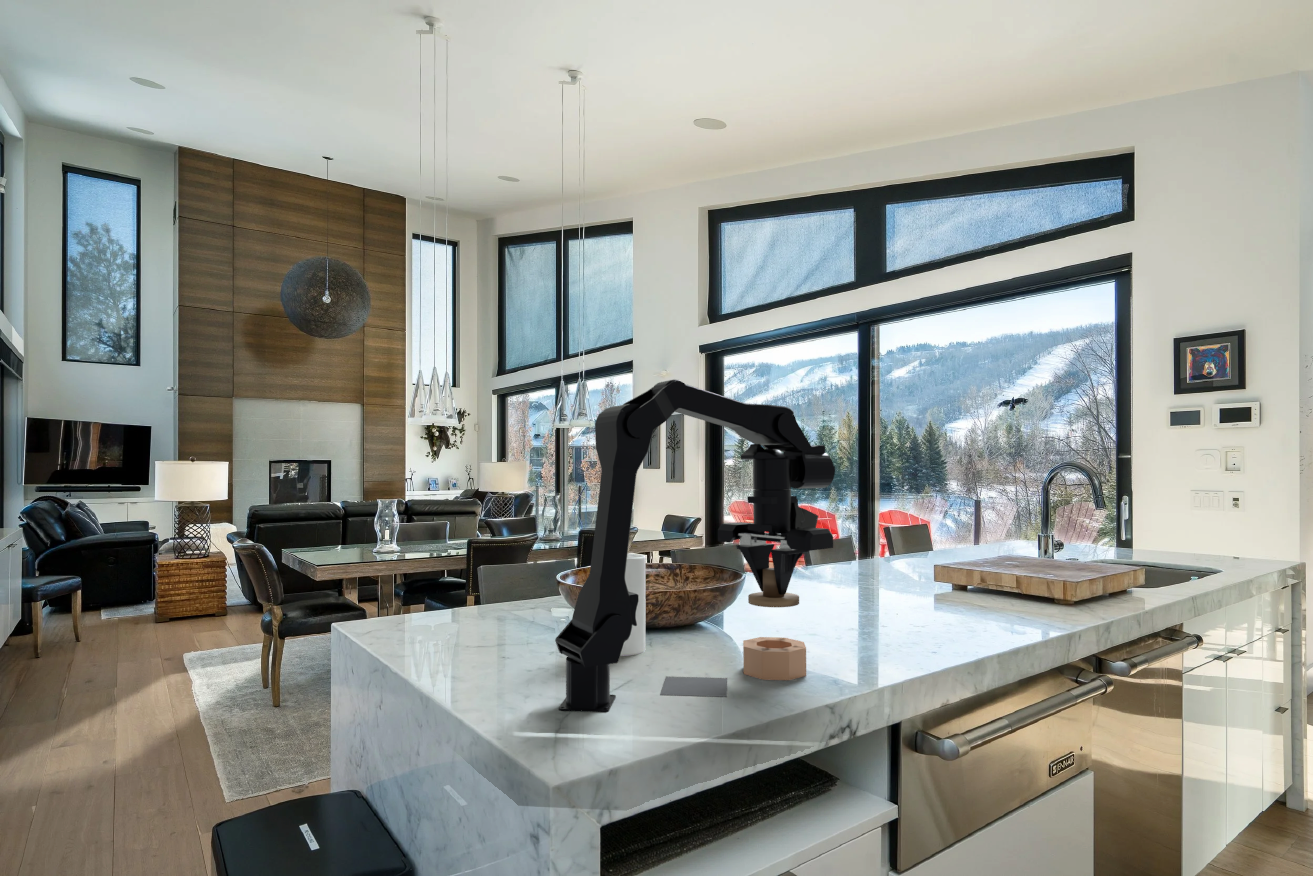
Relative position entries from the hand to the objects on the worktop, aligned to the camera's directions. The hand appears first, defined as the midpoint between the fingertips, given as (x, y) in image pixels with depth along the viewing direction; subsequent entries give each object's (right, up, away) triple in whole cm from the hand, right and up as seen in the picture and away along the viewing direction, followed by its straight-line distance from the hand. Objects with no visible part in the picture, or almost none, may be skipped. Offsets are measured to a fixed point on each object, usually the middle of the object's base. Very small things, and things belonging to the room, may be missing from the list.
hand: (773, 593), depth 114 cm
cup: (-24, -13, +13) cm, 30 cm away
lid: (0, -2, 0) cm, 2 cm away
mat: (-12, -12, -8) cm, 19 cm away
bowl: (0, -12, 0) cm, 12 cm away
